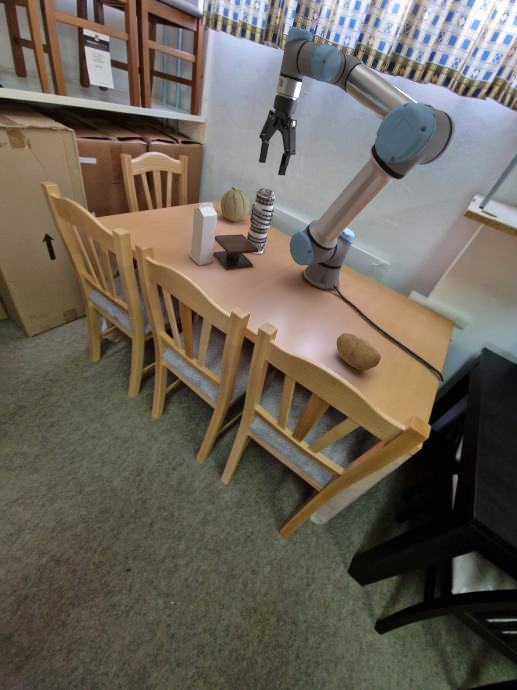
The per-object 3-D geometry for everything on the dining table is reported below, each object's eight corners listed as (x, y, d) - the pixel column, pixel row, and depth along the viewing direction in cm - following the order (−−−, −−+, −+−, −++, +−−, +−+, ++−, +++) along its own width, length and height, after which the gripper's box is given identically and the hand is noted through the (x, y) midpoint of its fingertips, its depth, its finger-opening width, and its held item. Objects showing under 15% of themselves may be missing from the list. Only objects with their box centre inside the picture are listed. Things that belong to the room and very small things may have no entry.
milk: (212, 262, 116) (219, 205, 102) (199, 265, 113) (204, 207, 98) (203, 255, 119) (208, 198, 104) (190, 258, 115) (194, 199, 101)
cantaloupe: (242, 229, 146) (248, 197, 136) (214, 220, 146) (218, 188, 136) (250, 219, 157) (256, 190, 147) (224, 211, 157) (228, 181, 147)
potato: (341, 342, 97) (351, 323, 92) (377, 369, 91) (390, 351, 86) (324, 353, 91) (334, 334, 86) (361, 383, 85) (374, 364, 80)
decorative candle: (266, 248, 136) (280, 191, 119) (261, 256, 129) (275, 197, 112) (247, 242, 136) (258, 184, 119) (241, 250, 129) (253, 190, 113)
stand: (254, 267, 121) (258, 249, 115) (226, 270, 114) (229, 251, 109) (239, 251, 128) (242, 234, 122) (212, 254, 121) (214, 235, 116)
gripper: (258, 86, 101) (246, 157, 115) (300, 103, 88) (281, 180, 102) (275, 91, 105) (262, 158, 119) (318, 107, 91) (298, 181, 106)
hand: (271, 168), depth 111 cm, fingers open, 13 cm apart
